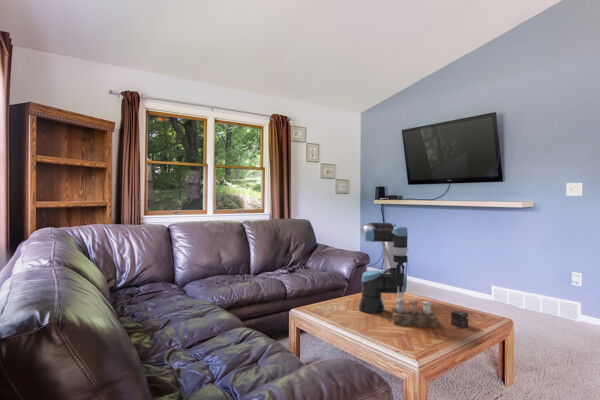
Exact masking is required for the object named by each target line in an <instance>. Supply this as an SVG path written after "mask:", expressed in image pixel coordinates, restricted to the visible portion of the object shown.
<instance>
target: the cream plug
mask: <svg viewBox="0 0 600 400" xmlns="http://www.w3.org/2000/svg"><path fill="white" fill-rule="evenodd" d="M421 302H422V306H423V308H422V311H423V315H430V311H431V305H432V301H431V300H422V301H421Z"/></svg>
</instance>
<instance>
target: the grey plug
mask: <svg viewBox="0 0 600 400" xmlns="http://www.w3.org/2000/svg"><path fill="white" fill-rule="evenodd" d="M405 302H406V301H405V299H403V298H397V299H395V303H396V309H397V313H400V314H404V305H405Z"/></svg>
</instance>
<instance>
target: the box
mask: <svg viewBox="0 0 600 400" xmlns="http://www.w3.org/2000/svg"><path fill="white" fill-rule="evenodd" d="M450 325H451V326H454V327H456V328H459V329H464V328H467V327H469V312H466V311H463V310H460V309H459V310H458V309H456V310H451V311H450Z"/></svg>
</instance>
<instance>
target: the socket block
mask: <svg viewBox="0 0 600 400" xmlns="http://www.w3.org/2000/svg"><path fill="white" fill-rule="evenodd" d="M391 320H392V325H398V326H399V325H400V326H412V327H427V328H438V317H437V315H436V314H435V313H434V311H433V310H430V315H423V309H422V310H419V309H417V315H416V314H410V309H404V314H400V313H397V308H391Z"/></svg>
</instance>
